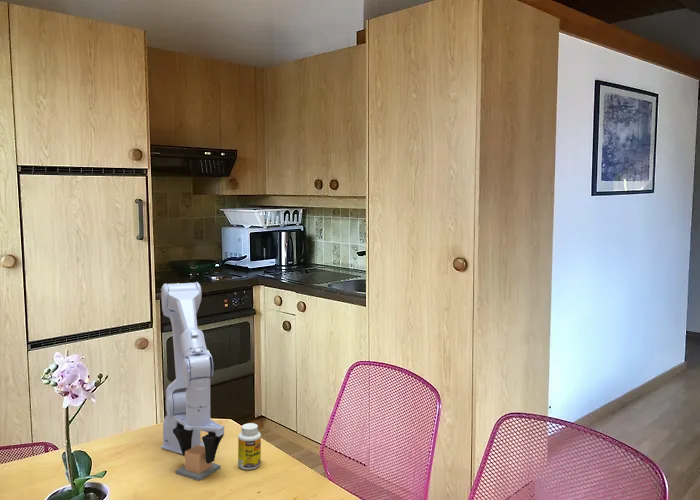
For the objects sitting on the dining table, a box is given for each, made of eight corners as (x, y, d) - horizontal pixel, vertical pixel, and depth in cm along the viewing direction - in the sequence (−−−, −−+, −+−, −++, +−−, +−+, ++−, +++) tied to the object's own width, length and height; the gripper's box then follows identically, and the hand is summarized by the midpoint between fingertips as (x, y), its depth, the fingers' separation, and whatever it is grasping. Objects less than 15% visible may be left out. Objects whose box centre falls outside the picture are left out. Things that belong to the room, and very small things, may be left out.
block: (184, 469, 139) (184, 451, 139) (197, 462, 143) (197, 444, 143) (199, 473, 137) (199, 455, 137) (211, 466, 141) (211, 448, 141)
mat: (175, 473, 139) (175, 470, 139) (197, 461, 145) (197, 458, 145) (199, 481, 135) (199, 477, 135) (220, 468, 142) (220, 465, 142)
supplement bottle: (243, 472, 140) (243, 432, 139) (234, 463, 144) (234, 424, 144) (264, 467, 143) (264, 427, 142) (255, 458, 148) (255, 420, 147)
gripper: (163, 403, 139) (164, 457, 140) (210, 414, 132) (210, 471, 133) (184, 395, 145) (185, 447, 146) (230, 405, 138) (229, 460, 139)
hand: (198, 458), depth 140 cm, fingers open, 7 cm apart
